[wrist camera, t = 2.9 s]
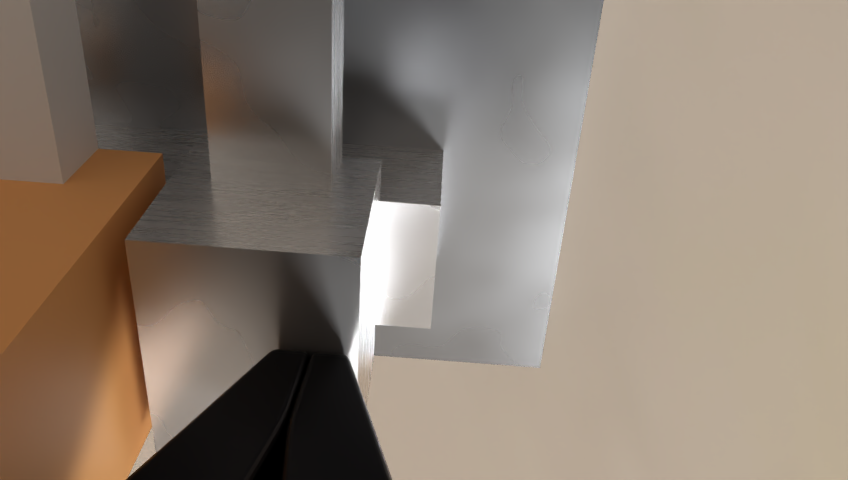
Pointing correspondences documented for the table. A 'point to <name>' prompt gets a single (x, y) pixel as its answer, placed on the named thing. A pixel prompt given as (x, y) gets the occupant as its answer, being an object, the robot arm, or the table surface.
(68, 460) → the slider
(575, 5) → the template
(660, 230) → the table surface
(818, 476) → the table surface
